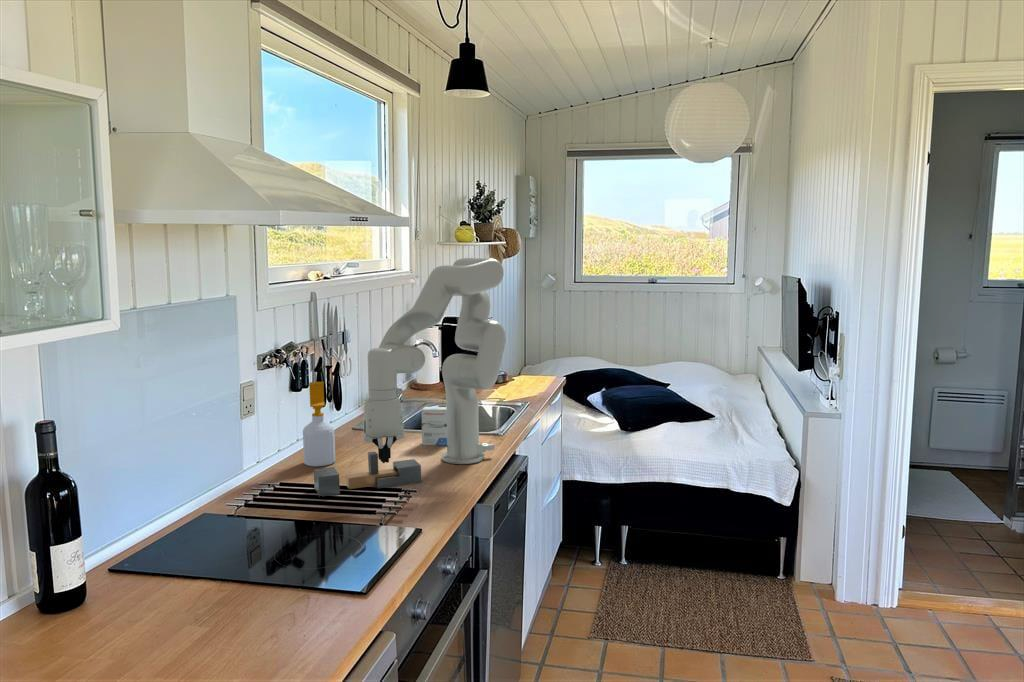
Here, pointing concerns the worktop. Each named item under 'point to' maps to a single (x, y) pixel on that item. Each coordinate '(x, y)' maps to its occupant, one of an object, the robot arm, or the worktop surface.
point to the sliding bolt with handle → (369, 474)
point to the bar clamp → (407, 474)
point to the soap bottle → (318, 432)
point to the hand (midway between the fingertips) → (384, 461)
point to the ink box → (434, 426)
